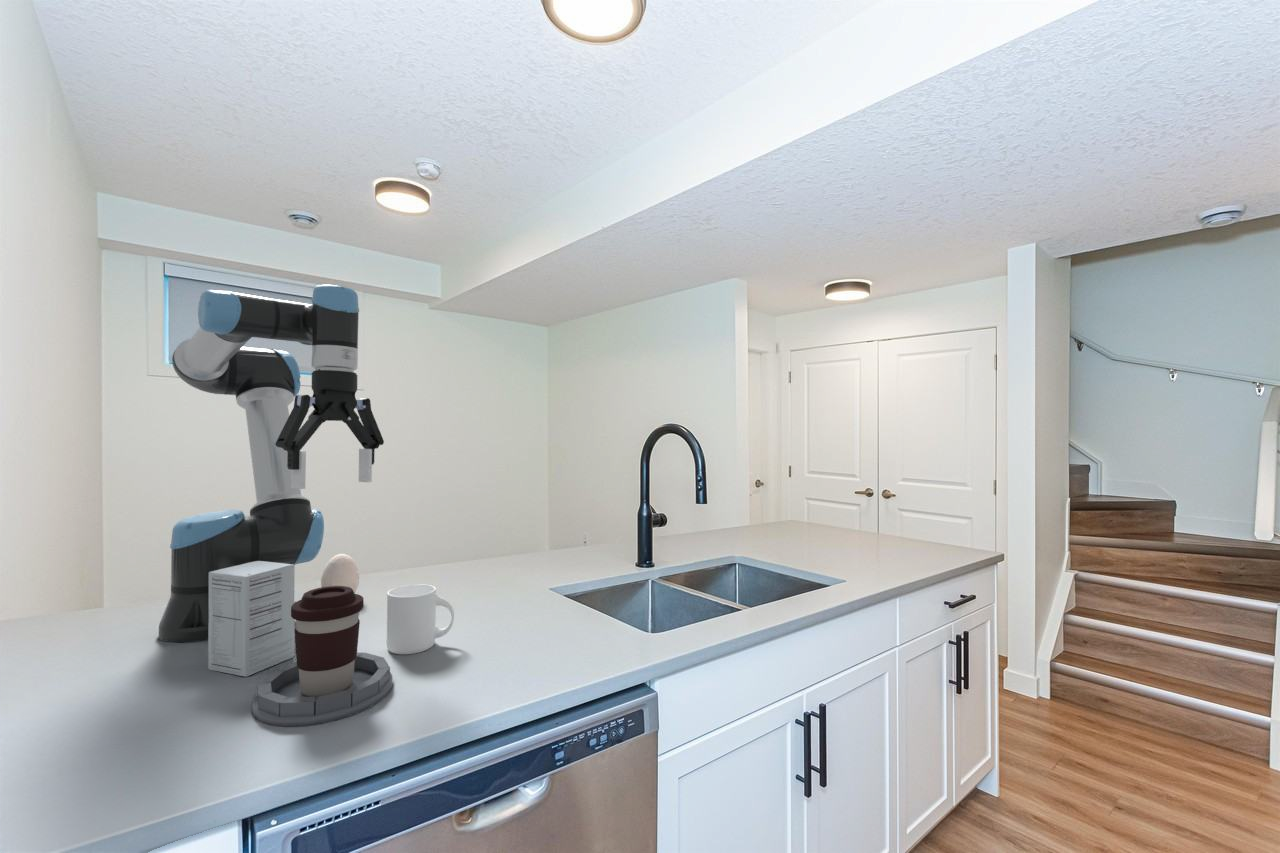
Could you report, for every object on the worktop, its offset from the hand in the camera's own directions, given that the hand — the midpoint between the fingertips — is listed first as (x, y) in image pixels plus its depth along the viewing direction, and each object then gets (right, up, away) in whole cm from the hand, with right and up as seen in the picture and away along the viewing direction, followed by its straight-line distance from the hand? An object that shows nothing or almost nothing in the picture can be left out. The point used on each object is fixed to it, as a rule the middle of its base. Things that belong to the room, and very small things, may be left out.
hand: (333, 485), depth 106 cm
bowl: (+8, -31, -17) cm, 36 cm away
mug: (+15, -31, +3) cm, 35 cm away
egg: (-14, -31, +28) cm, 44 cm away
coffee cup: (+8, -30, -17) cm, 35 cm away
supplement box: (-11, -31, -6) cm, 33 cm away
